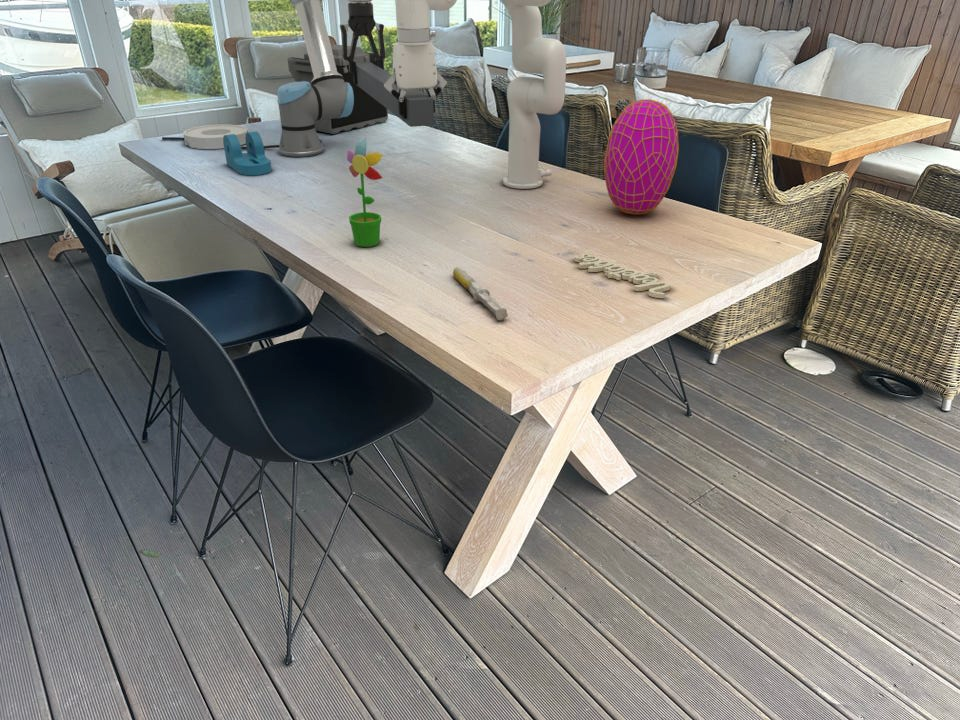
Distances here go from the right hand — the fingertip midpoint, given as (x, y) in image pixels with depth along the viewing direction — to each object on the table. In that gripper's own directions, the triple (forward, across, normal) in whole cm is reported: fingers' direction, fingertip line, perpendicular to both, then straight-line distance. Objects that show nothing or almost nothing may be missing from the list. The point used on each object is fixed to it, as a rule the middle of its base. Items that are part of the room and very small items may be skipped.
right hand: (417, 116), depth 169 cm
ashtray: (+28, +49, -114) cm, 127 cm away
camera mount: (+28, +39, -71) cm, 86 cm away
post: (+2, 0, -31) cm, 31 cm away
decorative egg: (+29, -60, +9) cm, 67 cm away
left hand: (+2, 0, -63) cm, 63 cm away
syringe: (+27, +1, +47) cm, 55 cm away
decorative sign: (+28, -34, +47) cm, 65 cm away
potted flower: (+28, +17, +9) cm, 34 cm away
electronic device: (+29, -2, -130) cm, 133 cm away
